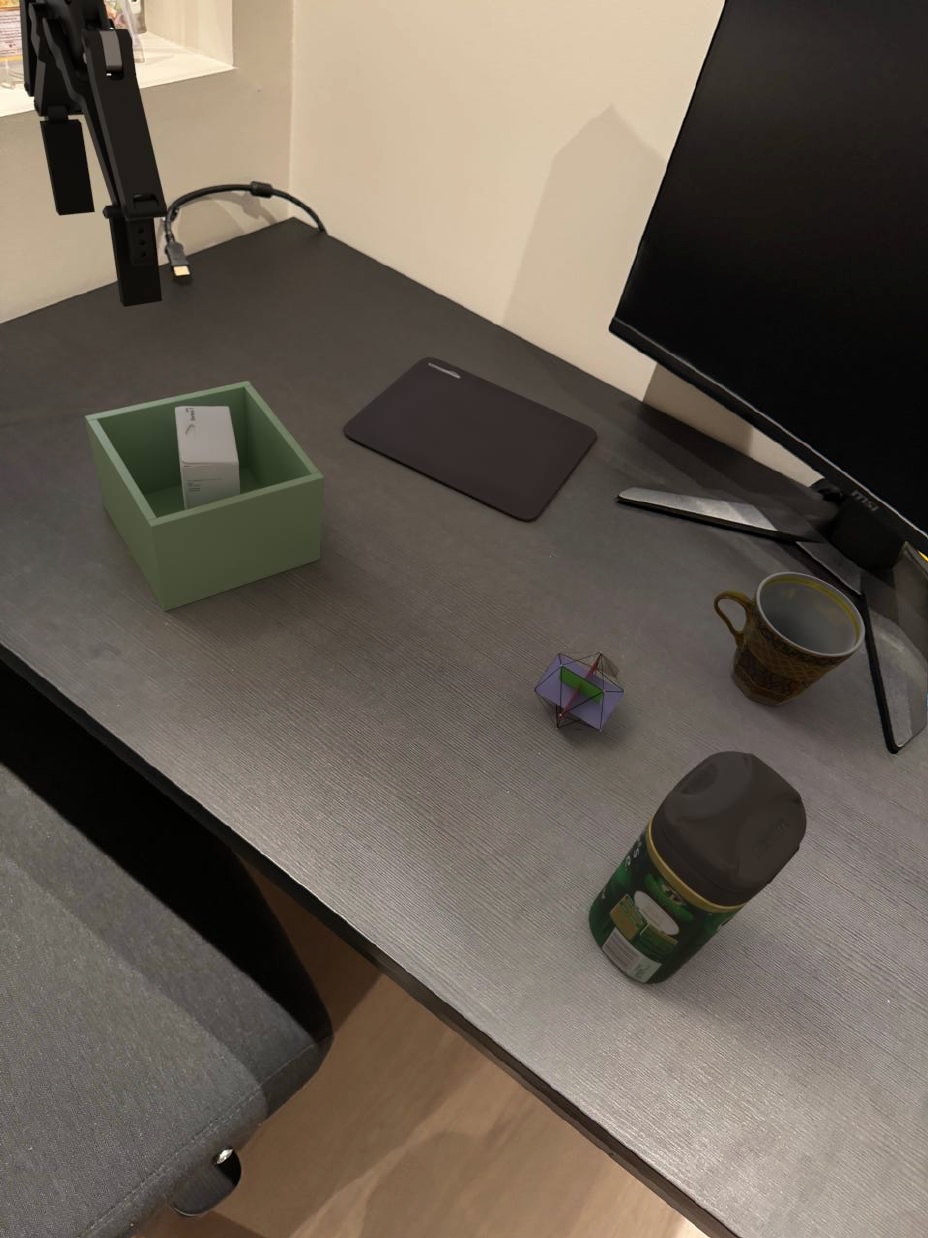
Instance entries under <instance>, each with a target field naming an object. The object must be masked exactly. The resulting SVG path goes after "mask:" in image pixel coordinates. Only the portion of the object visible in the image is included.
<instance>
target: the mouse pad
mask: <svg viewBox="0 0 928 1238" xmlns="http://www.w3.org/2000/svg"><path fill="white" fill-rule="evenodd" d="M342 431H343V434H344V435H345V436H346V437H347V438H349V439H350V440H352V441H354V442H356V443H359V444H360V445H362V446H365V447H367V448H369V449H371V450H373V451H375V452H377V453H379V454H381V455H383V456H385V457H388V458H390V459H392V460H394V461H396V462H398V463H400V464H402V465H404V466H407V467H409V468H411V469H413V470H415V471H417V472H419V473H420V474H423V475H425V476H427V477H429V478H431V479H433V480H435V481H437V482H440V483H442V484H444V485H446V486H448V487H449V488H453V489H454V490H456V491H458V492H461V493H463V494H465V495H466V496H469V497H470V498H473V499H475V500H478V501H479V502H482V503H483V504H486V505H488V506H490V507H493V508H494V509H496V510H498V511H501V512H502V513H505V514H507V515H509V516H511V517H513V518H516V519H518V520H521V521H532V520H534V519H536V518H537V517H538V516H539V515H540V514H541V513H542V512H543V510H544V508H545V507H546V506H547V504H548V503H549V502H550V500H551V499H552V498H553V496H554V495H555V494H556V493H557V491H558V490H559V488H560V487H561V486H562V485H563V484H564V482H565V480H566V479H567V478H568V477H569V475H570V474H571V472H572V471H573V470H574V468H575V467H577V465H578V463H579V462H580V461H581V459H582V458H583V456H584V455H585V454H586V452H587V451H588V450H589V448H590V447H591V446H592V444H593V443H594V442H595V440H596V438H597V432H596V430H595V429H594V428H592V426H590V425H588V424H586V423H583V422H581V421H579V420H577V419H574V418H572V417H570V416H567V415H566V414H563V413H561V412H559V411H556V410H555V409H552V408H550V407H548V406H545V405H543V404H541V403H539V402H537V401H534V400H532V399H530V398H528V397H526V396H523V395H521V394H518V393H516V392H515V391H511V390H510V389H508V388H505V387H503V386H500V385H498V384H496V383H494V382H492V381H489V380H487V379H485V378H483V377H480V376H478V375H476V374H473V373H471V372H469V371H467V370H464V369H462V368H460V367H458V366H455V365H454V364H451V363H449V362H446V361H444V360H442V359H439V358H437V357H431V356H427V357H426V356H425V357H423V358H421V359H420V360H418V361H417V362H416V363H415V364H414V365H412V367H410V368H409V369H408V370H407V371H405V372H404V373H403V374H402V375H401V376H399V377H398V379H396V380H395V381H394V382H393V383H391V384H390V385H389V386H388V387H386V389H385V390H383V391H382V392H381V393H380V394H379V395H377V396H376V397H375V398H374V399H373V400H372V401H371V402H369V403H368V404H367V405H366V406H365V407H363V408H362V410H360V411H359V412H358V413H357V414H356V415H355V416H353V417H352V418H351V419H350V420H348V421H347V422H346V423H345V425H344V426H343V430H342Z"/></svg>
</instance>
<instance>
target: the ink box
mask: <svg viewBox="0 0 928 1238" xmlns="http://www.w3.org/2000/svg"><path fill="white" fill-rule="evenodd" d="M175 417H176V429H177V440H178V452H179V462H180V472H181V481H182V490H183V499H184V506H185V510H188V509H191V508H195V507H198V506H202V505H205V504H209V503H213V502H216V501H220V500H223V499H227V498H230V497H234V496H237V495H240V482H239V462H238V455H237V449H236V443H235V438H234V432H233V426H232V421H231V415H230V410H229V407H228V406H214V407H206V406H181V407H176V408H175Z"/></svg>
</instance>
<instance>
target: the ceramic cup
mask: <svg viewBox="0 0 928 1238" xmlns="http://www.w3.org/2000/svg"><path fill="white" fill-rule="evenodd" d="M721 600H730V601H733V602H736V603H738V604H739V605H740V606H741V608H743V609H744V613H745V623H744V625H743V627H742V630H737V629H735V627H734V626H733V624H732V622H731V620H730V618H729V617H728V616H727V615H726V614H725V612H724V611H723V610H722V609H721V607H720V606H719V602H720V601H721ZM713 608H714V610H715V612H716V614H717V615H718V616H719V618H720V619H721V620H722V621H723V622H724V623H725V625H726V626H727V629H728V631H729V632H730V634H731V635H732V636H733V638H734V641H735V645H736V648H735V650H734V653H733V656H732V659H731V667H730V679H731V678H732V679H733V680H734V681H735V682H734V681H733V680H732V679H731V680H732V681H733V682H734V684H736V683H737V685H738V686H737V685H736V686H737V687H738V688H739V689H740V691H741V690H742V691H743V692H742V691H741V692H742V693H743V695H745V696H746V698H748V699H750V700H753V701H754V702H755V701H756V702H758V703H761V704H764V705H768V706H770V707H774V708H775V707H779V706H781V705H783V704H785V703H788V702H790V701H792V700H795V699H797V697H799V696H800V695H802V694H803V693H804V692H805V691H806V690H808V689H809V688H810V687H811V686H813V685H814V684H815V683H816V682H818V681H820V680H821V679H822V678H823V677H824V676H826V675H827V674H828V673H830V672H832V671H833V670H835V669H836V668H838V667H839V666H840V665H841V664H843V663H844V662H846V661H847V660H848V659H850V658H851V657H852V655H854V654H855V653H856V652H857V651H858V650H859V649H860V648H861V646H862V645H863V643H864V640H865V635H866V628H865V624H864V620H863V618H862V616H861V613H860V612H859V610H858V609H857V607H856V606H855V604H854V603H853V602H852V601H851V600H850V599H849V598H848V597H847V596H846V595H845V594H843V592H841V591H840V590H839V589H837V588H836V587H834V586H833V585H832V584H830V583H828V582H826V581H824V580H822V579H819V578H818V577H816V576H812V575H808V574H805V573H801V572H795V571H794V572H793V571H783V572H777V573H774V574H771V575H768V576H767V577H765V578H764V579H763V580H762V581H761V582H760V583H759V585H758V586H757V588H756V590H755V593H754V596H753V598H752V599H750V598H749V597H748V596H747V594H745V593H743V592H741V591H739V590H733V589H730V590H724V591H722V592H720V593H719V594H718V595H717V596H716V597H715V598H714V600H713Z"/></svg>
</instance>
